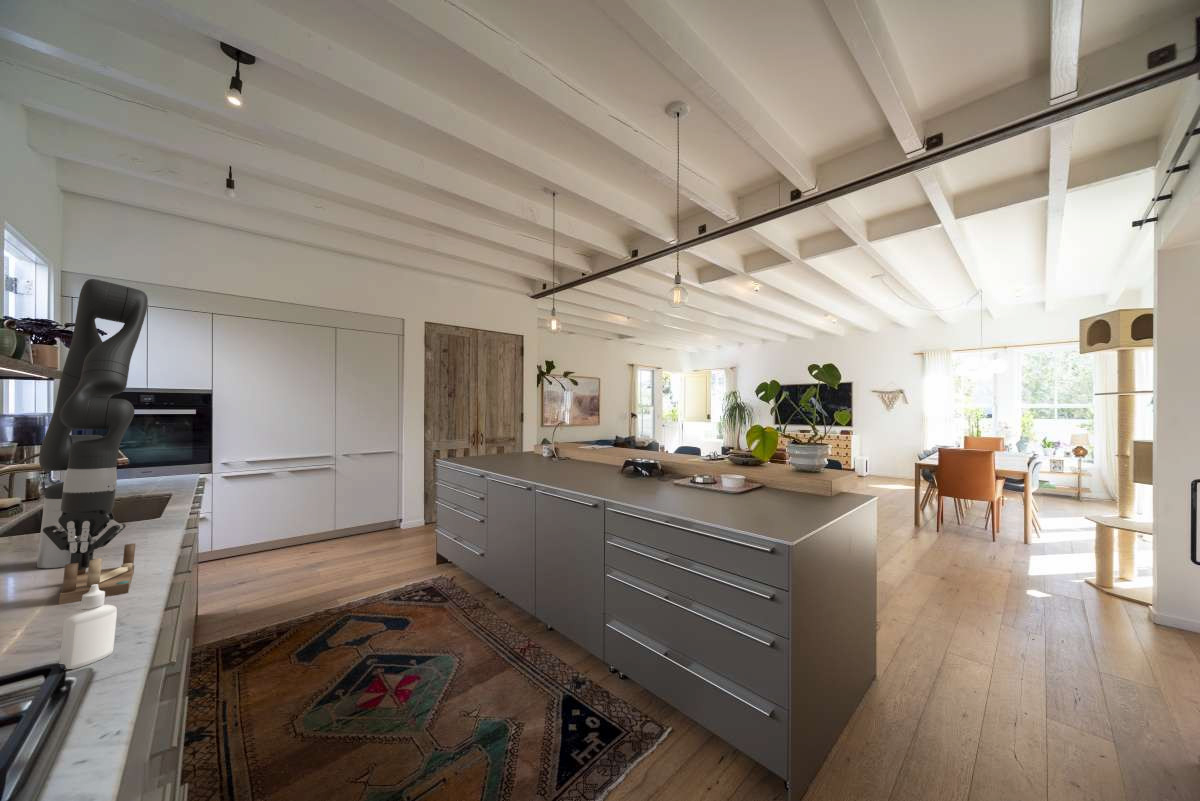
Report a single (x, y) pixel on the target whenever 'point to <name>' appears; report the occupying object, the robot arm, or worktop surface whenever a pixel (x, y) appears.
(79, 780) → the worktop surface
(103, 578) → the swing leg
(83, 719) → the worktop surface
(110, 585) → the wooden peg rack
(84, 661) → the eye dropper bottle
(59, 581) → the worktop surface
